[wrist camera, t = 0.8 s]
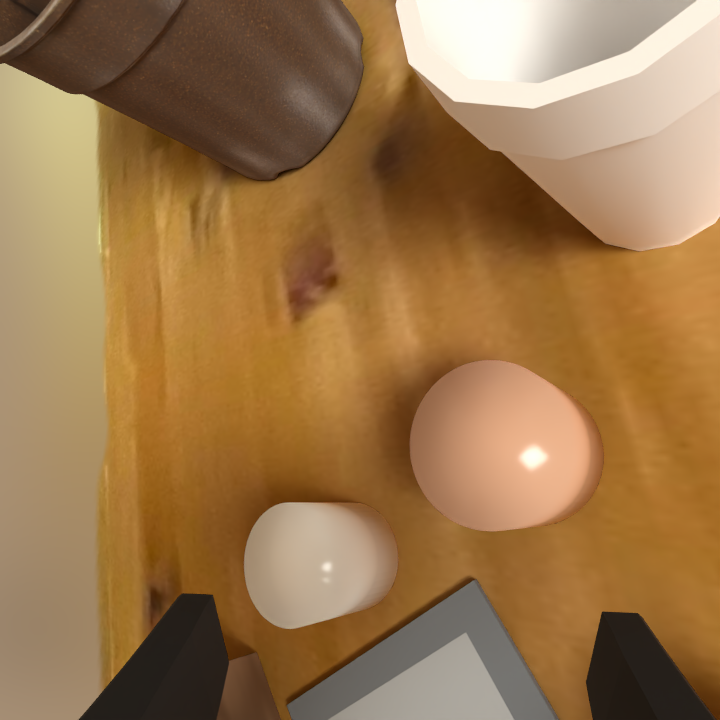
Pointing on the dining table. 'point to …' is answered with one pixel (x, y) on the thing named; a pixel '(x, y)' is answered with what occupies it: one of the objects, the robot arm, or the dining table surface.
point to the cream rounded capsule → (318, 561)
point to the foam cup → (587, 102)
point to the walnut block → (247, 692)
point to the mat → (434, 672)
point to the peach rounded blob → (504, 448)
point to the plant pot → (201, 69)
